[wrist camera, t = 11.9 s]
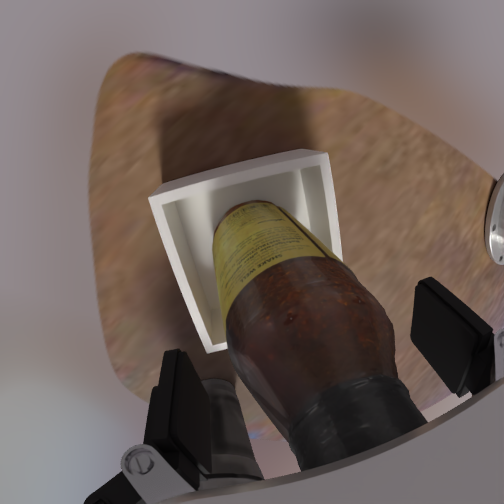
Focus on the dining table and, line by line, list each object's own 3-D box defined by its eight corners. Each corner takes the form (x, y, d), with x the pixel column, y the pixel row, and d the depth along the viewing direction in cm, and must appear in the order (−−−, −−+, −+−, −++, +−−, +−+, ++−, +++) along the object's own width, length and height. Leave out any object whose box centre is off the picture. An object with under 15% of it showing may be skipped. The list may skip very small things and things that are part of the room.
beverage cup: (256, 373, 27) (304, 566, 9) (239, 414, 30) (268, 574, 12) (183, 364, 26) (185, 575, 8) (176, 408, 28) (178, 577, 10)
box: (301, 148, 20) (327, 152, 15) (323, 282, 24) (346, 314, 20) (162, 183, 20) (148, 197, 15) (206, 314, 24) (206, 353, 19)
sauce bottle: (200, 262, 22) (209, 579, 3) (230, 183, 20) (387, 532, 2) (279, 287, 23) (391, 541, 5) (313, 216, 21) (534, 436, 3)
